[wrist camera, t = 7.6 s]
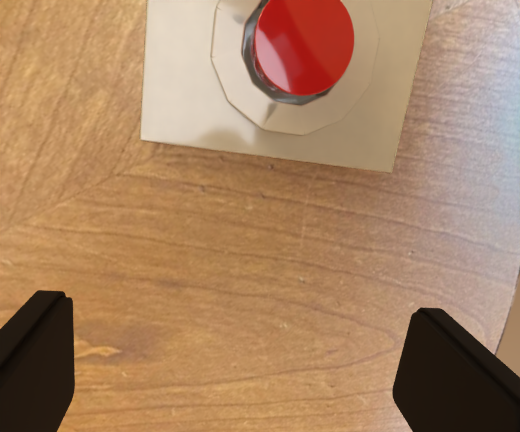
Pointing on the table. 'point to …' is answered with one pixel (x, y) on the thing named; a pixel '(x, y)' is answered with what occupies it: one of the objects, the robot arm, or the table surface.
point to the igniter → (267, 101)
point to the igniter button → (301, 45)
